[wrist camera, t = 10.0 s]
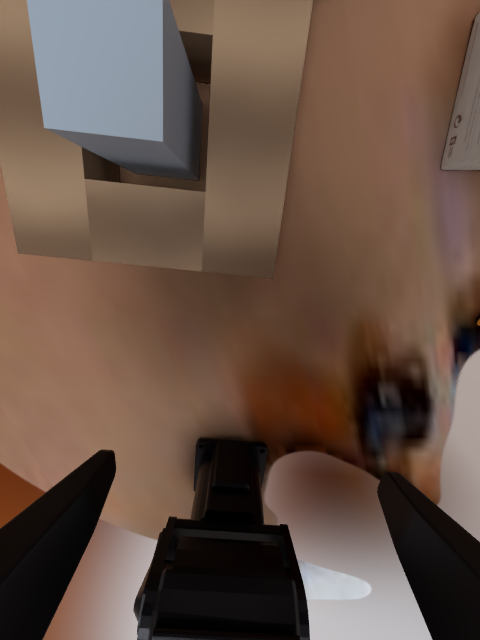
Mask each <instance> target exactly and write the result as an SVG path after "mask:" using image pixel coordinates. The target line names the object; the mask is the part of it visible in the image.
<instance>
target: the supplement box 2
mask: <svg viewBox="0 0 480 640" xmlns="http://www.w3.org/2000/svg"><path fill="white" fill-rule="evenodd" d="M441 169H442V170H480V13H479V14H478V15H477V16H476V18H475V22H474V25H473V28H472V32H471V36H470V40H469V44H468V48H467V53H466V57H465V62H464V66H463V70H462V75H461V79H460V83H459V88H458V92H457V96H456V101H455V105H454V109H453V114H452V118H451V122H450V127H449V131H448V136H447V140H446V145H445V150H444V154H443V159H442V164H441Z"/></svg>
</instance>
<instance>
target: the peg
mask: <svg viewBox="0 0 480 640" xmlns="http://www.w3.org/2000/svg"><path fill="white" fill-rule="evenodd" d="M27 6H28V14H29V21H30V28H31V36H32V43H33V50H34V58H35V65H36V72H37V79H38V87H39V94H40V101H41V109H42V116H43V123H44V128H45V129H47V130H49V131H51V132H53V133H55V134H57V135H59V136H61V137H63V138H65V139H67V140H69V141H71V142H73V143H75V144H77V145H79V146H81V147H83V148H85V149H87V150H89V151H91V152H93V153H95V154H97V155H99V156H101V157H103V158H105V159H107V160H109V161H111V162H113V163H115V164H117V165H119V166H121V167H123V168H125V169H127V170H129V171H131V172H133V173H135V174H142V175H151V176H160V177H169V178H178V179H187V180H196V181H199V172H200V146H201V121H202V102H201V99H200V96H199V92H198V89H197V86H196V83H195V80H194V77H193V74H192V70H191V67H190V64H189V61H188V58H187V55H186V52H185V48H184V45H183V42H182V39H181V36H180V33H179V30H178V26H177V23H176V20H175V17H174V14H173V11H172V8H171V4H170V1H169V0H27Z"/></svg>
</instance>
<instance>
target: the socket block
mask: <svg viewBox="0 0 480 640" xmlns="http://www.w3.org/2000/svg"><path fill="white" fill-rule="evenodd" d="M169 1H170V4H171V8H172V11H173V14H174V17H175V20H176V23H177V26H178V30H179V33H180V36H181V39H182V42H183V45H184V48H185V52H186V55H187V58H188V61H189V64H190V67H191V70H192V74H193V77H194V80H195V81H196V82H204V83H211V86H210V107H209V129H208V150H207V171H206V192H201V191H191V190H182V189H173V188H164V187H154V186H145V185H136V184H127V183H120V176H119V165H117V164H115V163H113V162H111V161H109V160H107V159H105V158H103V157H101V156H99V155H97V154H95V153H93V152H91V151H89V150H87V149H85V148H83V147H81V146H79V145H77V144H75V143H73V142H71V141H69V140H67V139H65V138H63V137H61V136H59V135H57V134H55V133H53V132H51V131H49V130H47V129H45V128H44V123H43V116H42V109H41V101H40V94H39V87H38V79H37V72H36V65H35V58H34V50H33V43H32V36H31V28H30V21H29V14H28V6H27V0H0V163H1V168H2V173H3V178H4V184H5V189H6V194H7V199H8V204H9V209H10V214H11V220H12V225H13V230H14V235H15V240H16V245H17V251H18V253H19V254H29V255H39V256H49V257H59V258H69V259H80V260H90V261H100V262H110V263H120V264H130V265H140V266H150V267H160V268H171V269H181V270H191V271H201V272H211V273H221V274H231V275H241V276H252V277H262V278H272V279H273V276H274V269H275V262H276V255H277V248H278V241H279V234H280V227H281V220H282V213H283V206H284V199H285V192H286V185H287V178H288V171H289V164H290V157H291V150H292V144H293V137H294V130H295V123H296V116H297V109H298V102H299V95H300V88H301V81H302V74H303V67H304V60H305V53H306V46H307V39H308V32H309V25H310V18H311V11H312V4H313V0H169Z"/></svg>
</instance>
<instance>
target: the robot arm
mask: <svg viewBox="0 0 480 640" xmlns="http://www.w3.org/2000/svg"><path fill="white" fill-rule="evenodd" d="M201 444H203V445H201ZM261 449H263V450H261ZM267 453H268V449H267V445H266V444H263V443H252V442H240V441H227V440H214V439H199V440H198V441H197V443H196V455H195V475H194V491H195V496H194V501H193V507H192V513H191V519H177V517H169V519H168V522H167V525H166V528H163V531H162V532H161V533H160V534H159V538H158V542H157V546H156V550H155V553H154V557H153V560H152V562H151V565H150V567H149V569H148V572H147V574H146V576H145V578H144V581H143V583H142V585H141V587H140V590H139V592H138V595H137V597H136V600H135V604H134V613H135V616H136V618H137V620H138V629H137V635H138V638H137V640H310V634H309V619H308V608H307V600H306V594H305V589H304V585H303V580H302V577H301V573H300V569H299V566H298V562H297V558H296V554H295V551H294V547H293V543H292V540H291V536H290V532H289V529H288V525H286V524H280V526H278V525H264V517H263V504H262V491H261V487H262V481H263V476H264V470H265V464H266V459H267ZM115 473H116V462H115V453H114V451H113V450H100V451H98V452H97V453H96V454H94V455H93V456H92V457H90V458H89V459H88V460H87V461H85V462H84V463H83V464H82V465H80V466H79V467H78V468H77V469H75V470H74V471H73V472H71V473H70V474H69V475H68V476H66V477H65V478H64V479H63V480H61V481H60V482H59V483H57V484H56V485H55V486H54V487H52V488H51V489H50V490H49V491H47V492H46V493H45V494H44V495H42V496H41V497H40V498H38V499H37V500H36V501H35V502H34V503H32V504H31V505H30V506H28V507H27V508H26V509H25V510H23V511H22V512H21V513H19V514H18V515H17V516H16V517H14V518H13V519H12V520H11V521H9V522H8V523H7V524H5V525H4V526H3V527H2V528H0V640H43V638H44V636H45V633H46V631H47V629H48V627H49V625H50V623H51V621H52V619H53V617H54V615H55V613H56V610H57V608H58V606H59V604H60V602H61V600H62V598H63V596H64V594H65V591H66V589H67V587H68V585H69V583H70V581H71V579H72V577H73V574H74V573H75V571H76V568H77V566H78V564H79V562H80V560H81V558H82V556H83V554H84V552H85V550H86V547H87V545H88V543H89V541H90V539H91V537H92V534H93V532H94V530H95V527H96V525H97V522H98V520H99V517H100V514H101V512H102V509H103V506H104V504H105V501H106V498H107V496H108V493H109V490H110V488H111V485H112V482H113V480H114V477H115ZM377 493H378V497H379V501H380V504H381V507H382V510H383V513H384V516H385V519H386V522H387V525H388V528H389V531H390V535H391V538H392V541H393V544H394V547H395V549H396V552H397V555H398V557H399V560H400V562H401V564H402V567H403V569H404V572H405V574H406V577H407V579H408V582H409V584H410V586H411V589H412V591H413V594H414V596H415V598H416V601H417V603H418V606H419V608H420V610H421V612H422V615H423V617H424V620H425V623H426V625H427V627H428V630H429V632H430V635H431V637H432V639H433V640H480V542H479V541H478V540H477V539H475V538H474V537H473V536H472V535H471V534H470V533H468V532H467V531H466V530H465V529H464V528H463V527H461V526H460V525H459V524H458V523H457V522H456V521H454V520H453V519H452V518H451V517H450V516H449V515H447V514H446V513H445V512H444V511H443V510H441V509H440V508H439V507H438V506H437V505H436V504H435V503H433V502H432V501H431V500H430V499H429V498H427V497H426V496H425V495H424V494H423V493H422V492H420V491H419V490H418V489H417V488H416V487H415V486H413V485H412V484H411V483H410V482H409V481H408V480H406V479H405V478H404V477H403V476H402V475H400V474H399V473H397V472H389V471H386V472H384V473H383V476H382V478H381V481H380V483H379V486H378V491H377Z"/></svg>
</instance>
